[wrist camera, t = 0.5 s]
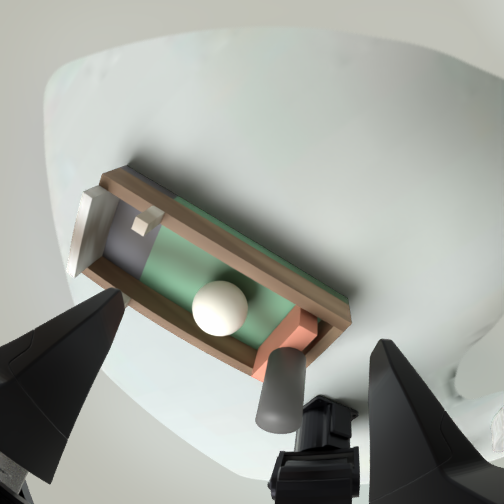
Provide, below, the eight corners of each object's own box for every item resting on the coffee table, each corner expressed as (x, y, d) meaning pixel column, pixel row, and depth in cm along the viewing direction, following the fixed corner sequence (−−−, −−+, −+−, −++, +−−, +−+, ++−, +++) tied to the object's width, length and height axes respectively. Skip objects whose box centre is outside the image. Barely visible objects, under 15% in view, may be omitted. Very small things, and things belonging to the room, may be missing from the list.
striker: (283, 361, 27) (269, 447, 19) (256, 347, 27) (233, 433, 19) (328, 313, 24) (331, 406, 16) (299, 296, 24) (290, 388, 15)
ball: (237, 322, 27) (225, 355, 23) (194, 297, 26) (176, 328, 22) (262, 288, 25) (252, 321, 21) (215, 261, 24) (197, 289, 20)
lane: (284, 365, 29) (277, 411, 24) (98, 253, 28) (61, 282, 22) (347, 298, 25) (354, 345, 19) (126, 165, 23) (81, 181, 18)
